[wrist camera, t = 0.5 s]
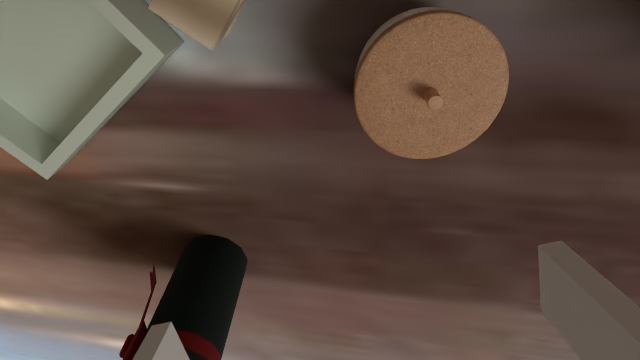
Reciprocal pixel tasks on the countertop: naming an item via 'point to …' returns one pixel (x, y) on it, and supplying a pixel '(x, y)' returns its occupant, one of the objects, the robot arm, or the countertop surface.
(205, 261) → the wine bottle
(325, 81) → the countertop surface
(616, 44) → the countertop surface
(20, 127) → the sage tray
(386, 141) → the lidded jar
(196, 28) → the wood block
